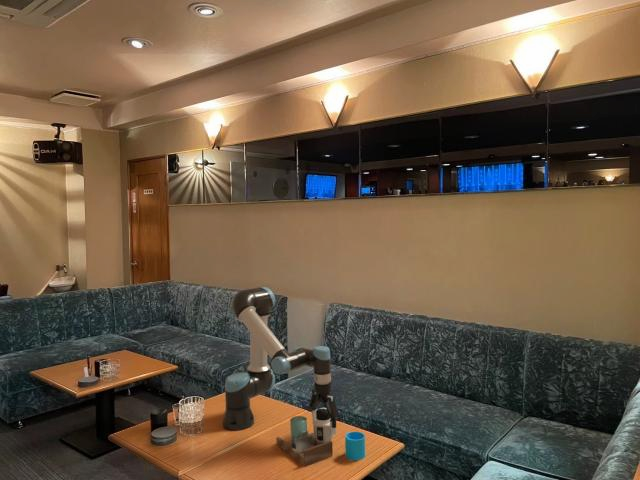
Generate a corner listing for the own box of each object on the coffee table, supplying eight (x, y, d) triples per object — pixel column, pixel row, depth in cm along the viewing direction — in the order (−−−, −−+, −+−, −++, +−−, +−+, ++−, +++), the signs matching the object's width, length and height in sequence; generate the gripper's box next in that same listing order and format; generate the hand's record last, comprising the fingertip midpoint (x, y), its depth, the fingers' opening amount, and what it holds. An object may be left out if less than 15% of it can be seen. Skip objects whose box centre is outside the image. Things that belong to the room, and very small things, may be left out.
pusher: (294, 453, 192) (294, 434, 191) (313, 446, 197) (312, 428, 196) (296, 454, 191) (295, 435, 190) (314, 447, 196) (314, 429, 196)
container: (330, 443, 200) (330, 413, 200) (313, 441, 202) (312, 412, 201) (333, 435, 208) (333, 406, 207) (317, 433, 209) (316, 405, 209)
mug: (364, 461, 184) (363, 441, 184) (344, 459, 186) (343, 439, 185) (367, 447, 196) (367, 428, 195) (348, 445, 197) (348, 426, 197)
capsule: (288, 446, 198) (287, 418, 198) (301, 441, 202) (301, 414, 202) (296, 452, 192) (295, 424, 192) (310, 447, 196) (309, 419, 196)
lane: (276, 444, 200) (276, 430, 200) (302, 435, 208) (302, 422, 207) (305, 466, 181) (304, 451, 181) (332, 456, 189) (332, 441, 188)
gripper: (300, 376, 212) (302, 422, 212) (332, 391, 192) (333, 441, 192) (313, 373, 216) (315, 418, 217) (346, 387, 196) (348, 436, 196)
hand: (324, 429), depth 204 cm, fingers open, 13 cm apart
